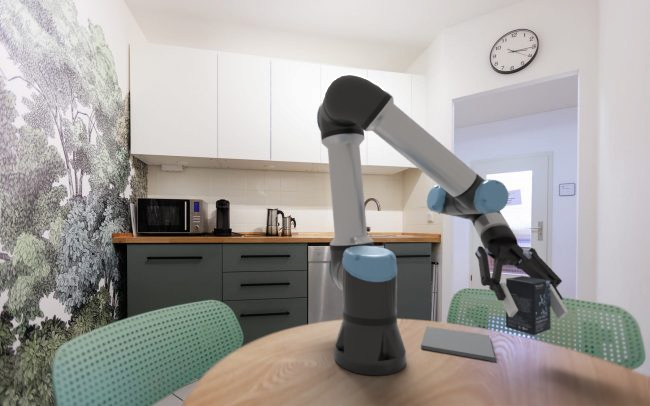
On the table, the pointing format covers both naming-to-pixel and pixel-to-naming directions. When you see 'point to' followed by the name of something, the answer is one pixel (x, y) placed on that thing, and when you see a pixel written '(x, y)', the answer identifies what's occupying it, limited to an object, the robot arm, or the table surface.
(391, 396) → the table surface
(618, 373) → the table surface
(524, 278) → the box
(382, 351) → the robot arm
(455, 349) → the mat
